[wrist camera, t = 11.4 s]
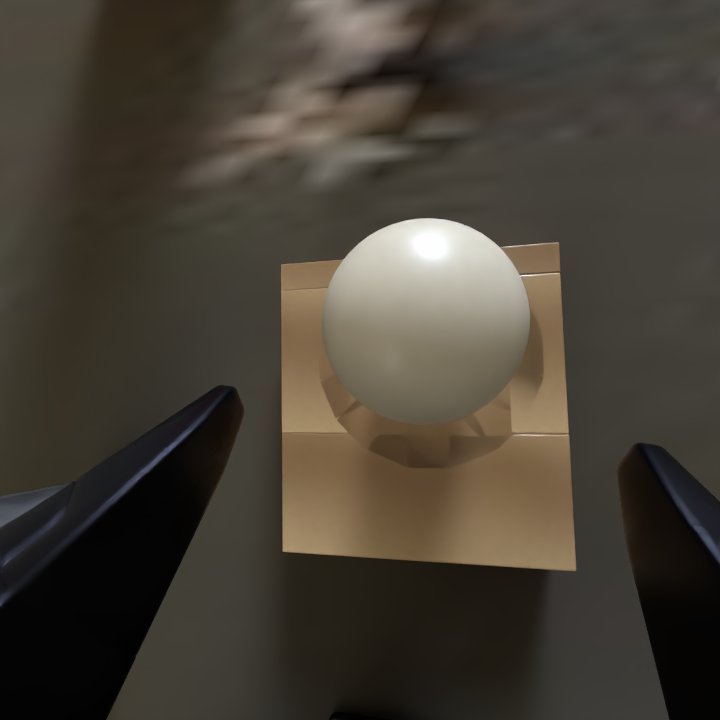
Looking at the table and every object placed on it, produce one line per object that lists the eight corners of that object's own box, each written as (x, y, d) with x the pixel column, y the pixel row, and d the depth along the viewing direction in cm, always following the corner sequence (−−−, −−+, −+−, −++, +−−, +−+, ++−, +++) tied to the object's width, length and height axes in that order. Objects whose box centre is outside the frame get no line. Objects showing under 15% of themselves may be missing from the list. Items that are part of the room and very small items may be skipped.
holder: (551, 539, 17) (577, 572, 14) (304, 526, 19) (282, 552, 16) (537, 259, 18) (558, 235, 15) (302, 277, 20) (280, 259, 17)
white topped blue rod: (468, 398, 18) (570, 441, 5) (387, 399, 19) (291, 437, 6) (465, 318, 19) (557, 157, 5) (385, 321, 19) (290, 188, 6)
